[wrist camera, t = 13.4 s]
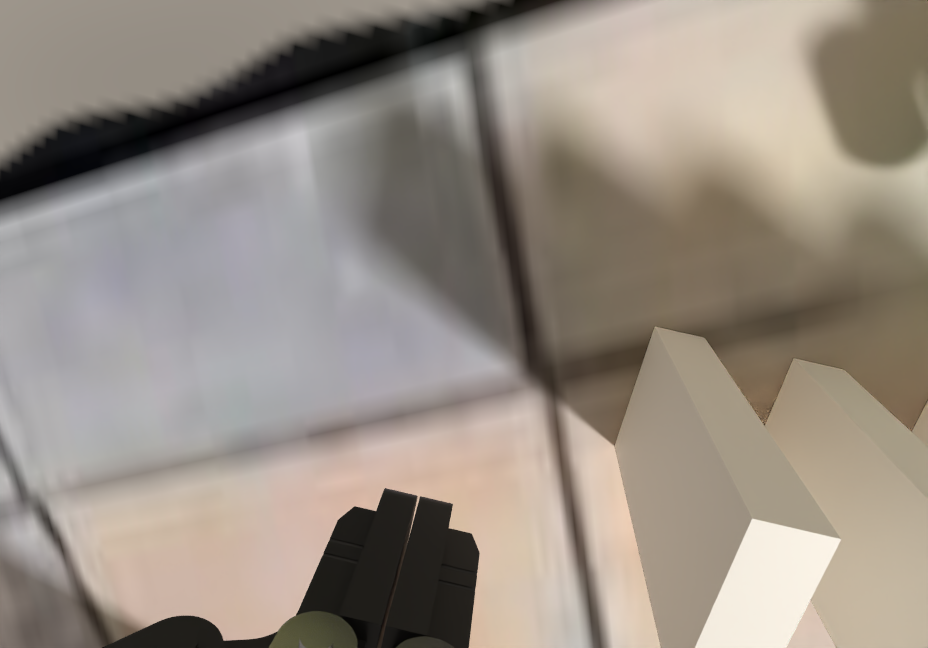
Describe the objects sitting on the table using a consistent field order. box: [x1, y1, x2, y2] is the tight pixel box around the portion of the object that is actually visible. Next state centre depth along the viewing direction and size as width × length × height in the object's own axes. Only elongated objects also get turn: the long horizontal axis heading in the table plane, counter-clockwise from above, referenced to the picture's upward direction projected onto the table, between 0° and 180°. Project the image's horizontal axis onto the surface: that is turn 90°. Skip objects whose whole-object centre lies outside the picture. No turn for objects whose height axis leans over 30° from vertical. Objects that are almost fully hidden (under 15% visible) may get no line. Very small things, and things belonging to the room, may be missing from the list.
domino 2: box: [765, 358, 928, 648], centre depth 19 cm, size 2×5×11 cm, turn 169°
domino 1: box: [615, 326, 841, 648], centre depth 19 cm, size 2×5×11 cm, turn 168°
